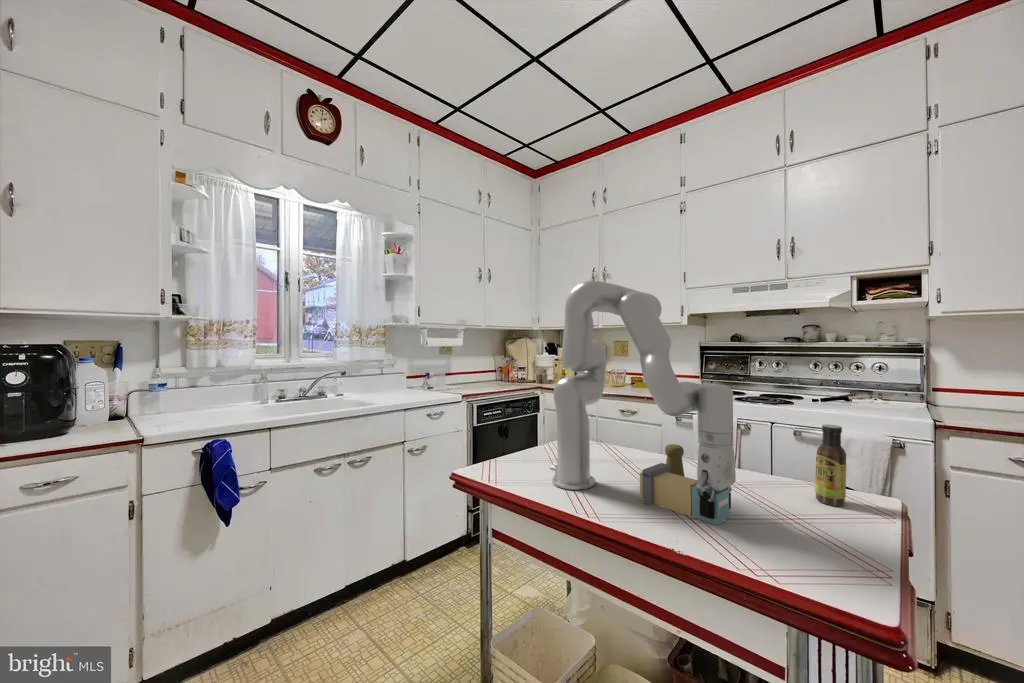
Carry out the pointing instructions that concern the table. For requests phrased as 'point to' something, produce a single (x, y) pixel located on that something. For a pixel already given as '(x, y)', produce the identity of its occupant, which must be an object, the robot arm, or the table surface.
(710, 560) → the table surface
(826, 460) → the sauce bottle
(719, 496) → the teal box
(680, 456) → the brown knobbed peg
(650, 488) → the tan oblong box
